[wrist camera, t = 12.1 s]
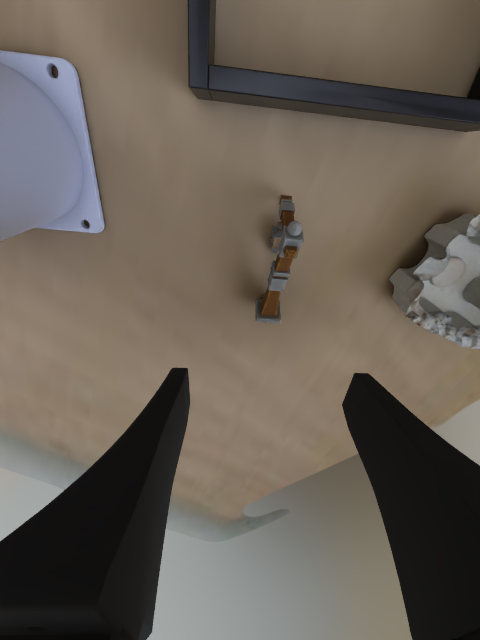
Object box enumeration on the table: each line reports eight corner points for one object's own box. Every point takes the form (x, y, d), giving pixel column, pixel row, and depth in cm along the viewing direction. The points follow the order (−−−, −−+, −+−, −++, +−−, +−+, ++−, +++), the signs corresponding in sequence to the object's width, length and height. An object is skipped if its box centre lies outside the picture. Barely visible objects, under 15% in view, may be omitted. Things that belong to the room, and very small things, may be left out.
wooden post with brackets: (305, 181, 15) (317, 235, 12) (276, 278, 21) (280, 325, 19) (273, 178, 15) (279, 232, 12) (254, 276, 21) (255, 324, 19)
